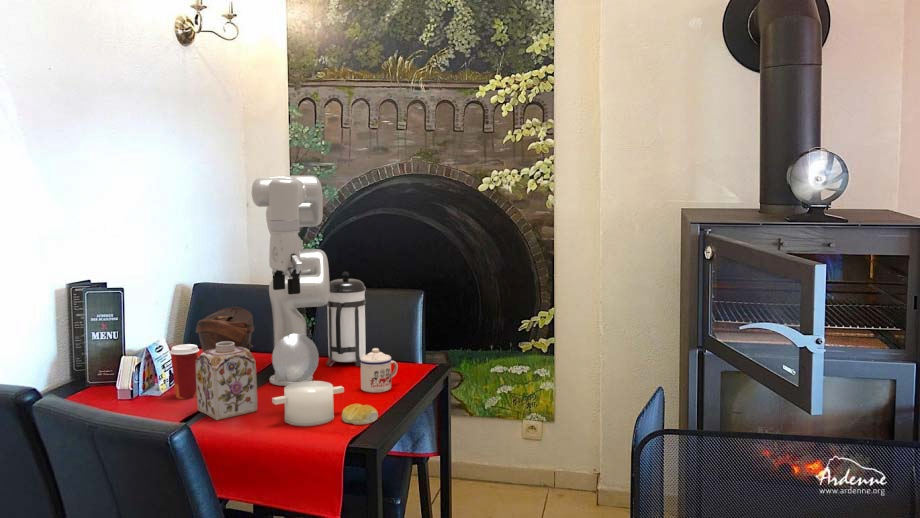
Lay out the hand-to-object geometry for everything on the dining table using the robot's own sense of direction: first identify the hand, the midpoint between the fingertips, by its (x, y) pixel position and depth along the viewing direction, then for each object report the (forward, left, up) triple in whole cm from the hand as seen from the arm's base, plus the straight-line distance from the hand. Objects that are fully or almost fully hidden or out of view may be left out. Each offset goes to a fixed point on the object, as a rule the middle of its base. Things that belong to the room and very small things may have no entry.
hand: (286, 291), depth 199 cm
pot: (+15, -1, -30) cm, 34 cm away
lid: (+7, -1, -16) cm, 18 cm away
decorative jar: (-3, -16, -31) cm, 35 cm away
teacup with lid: (+1, +27, -31) cm, 41 cm away
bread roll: (+23, +9, -31) cm, 39 cm away
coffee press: (-30, +32, -31) cm, 54 cm away
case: (-50, -1, -31) cm, 59 cm away
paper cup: (-23, -21, -31) cm, 44 cm away
